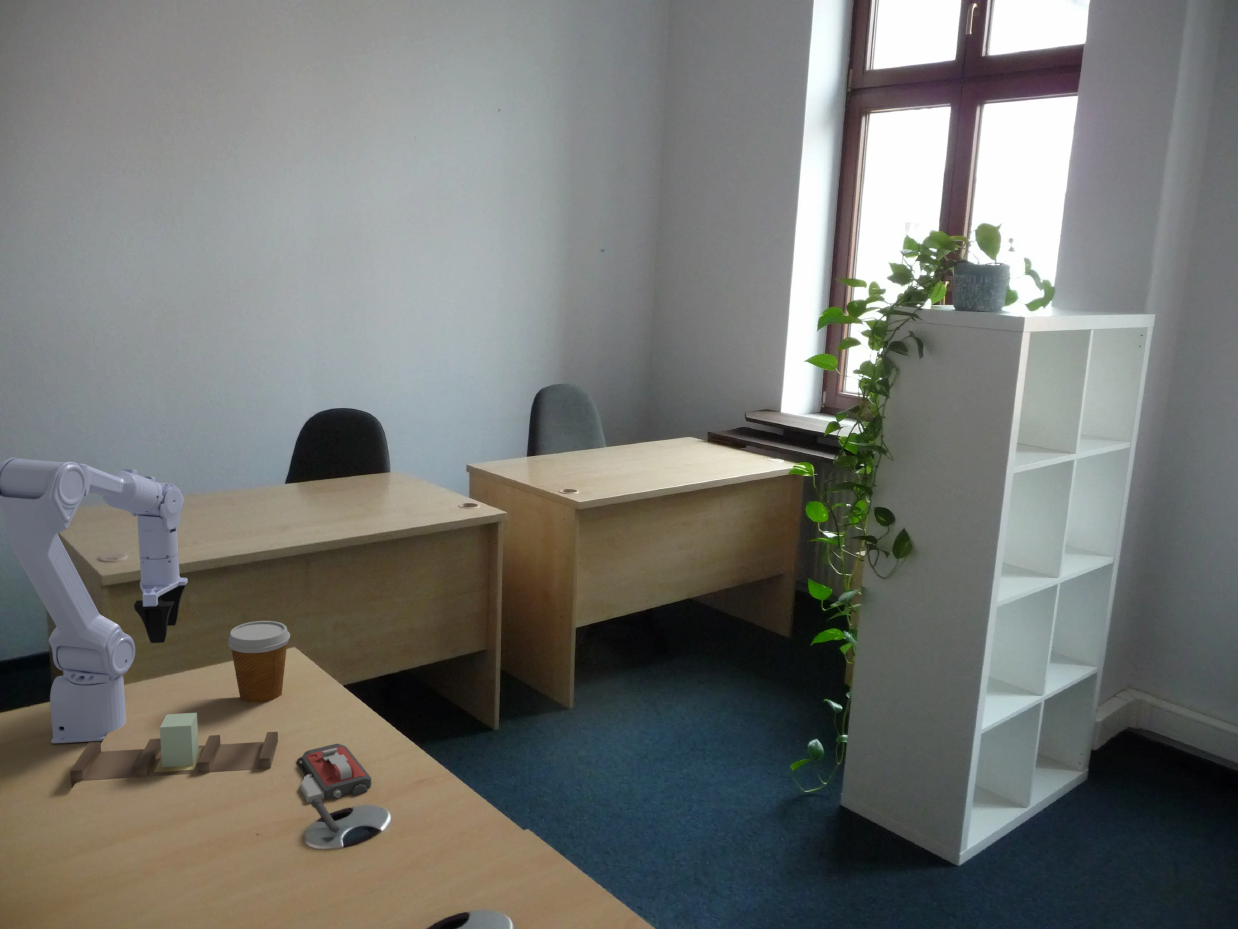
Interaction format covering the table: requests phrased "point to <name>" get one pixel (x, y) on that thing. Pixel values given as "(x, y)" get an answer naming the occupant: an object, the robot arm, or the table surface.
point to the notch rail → (150, 764)
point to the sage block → (179, 739)
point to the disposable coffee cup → (259, 659)
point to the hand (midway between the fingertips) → (163, 633)
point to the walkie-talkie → (331, 777)
